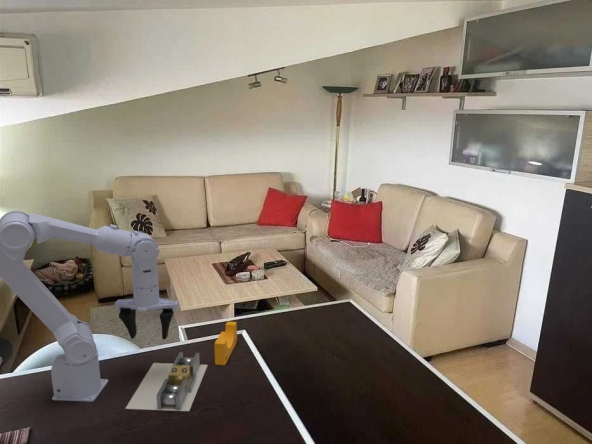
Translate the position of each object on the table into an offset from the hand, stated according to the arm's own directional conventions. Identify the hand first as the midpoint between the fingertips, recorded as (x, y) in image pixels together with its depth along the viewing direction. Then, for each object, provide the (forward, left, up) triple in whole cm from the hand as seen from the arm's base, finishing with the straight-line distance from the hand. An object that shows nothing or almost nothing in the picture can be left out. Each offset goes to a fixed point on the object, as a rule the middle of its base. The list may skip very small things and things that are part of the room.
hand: (149, 336), depth 110 cm
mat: (+6, -5, -10) cm, 13 cm away
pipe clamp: (+16, +10, -10) cm, 22 cm away
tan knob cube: (+9, -5, -10) cm, 14 cm away
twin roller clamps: (+9, -5, -10) cm, 14 cm away
